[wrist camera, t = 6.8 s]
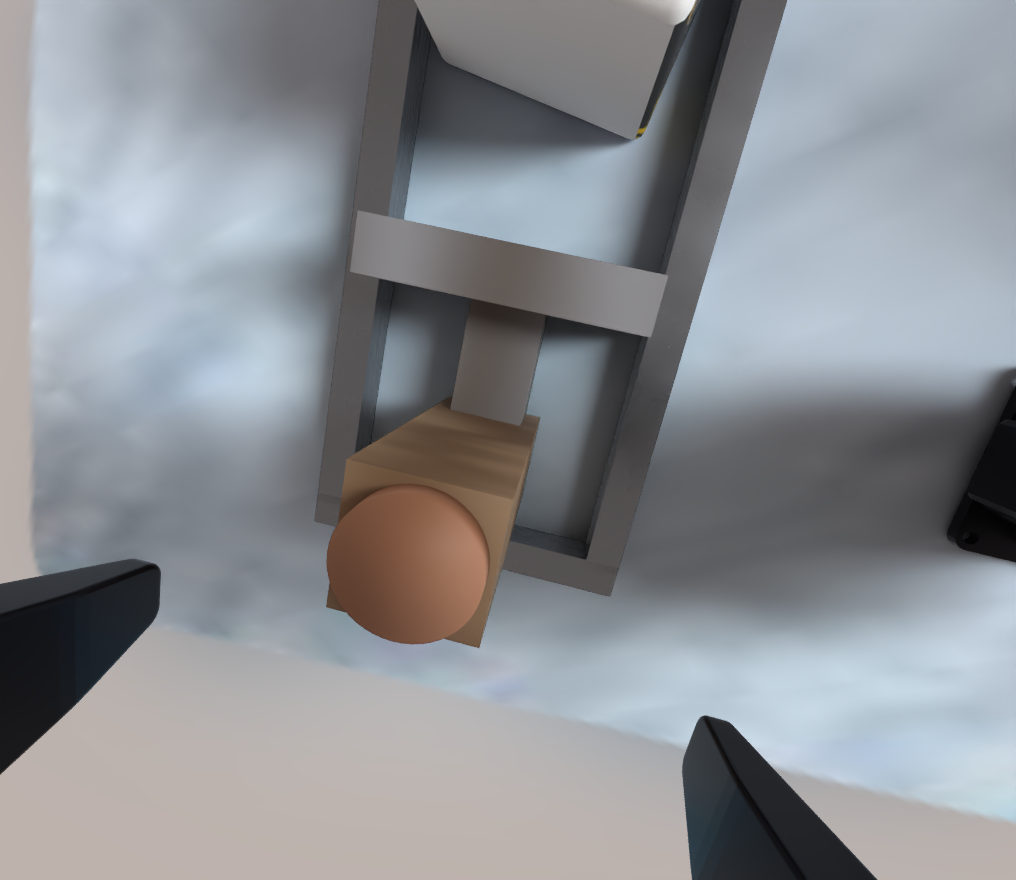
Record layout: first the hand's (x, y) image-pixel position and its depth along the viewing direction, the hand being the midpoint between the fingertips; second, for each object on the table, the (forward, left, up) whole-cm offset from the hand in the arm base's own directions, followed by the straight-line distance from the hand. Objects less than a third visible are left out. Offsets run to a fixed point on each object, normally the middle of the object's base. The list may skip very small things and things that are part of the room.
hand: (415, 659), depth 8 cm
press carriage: (+1, -3, -12) cm, 12 cm away
